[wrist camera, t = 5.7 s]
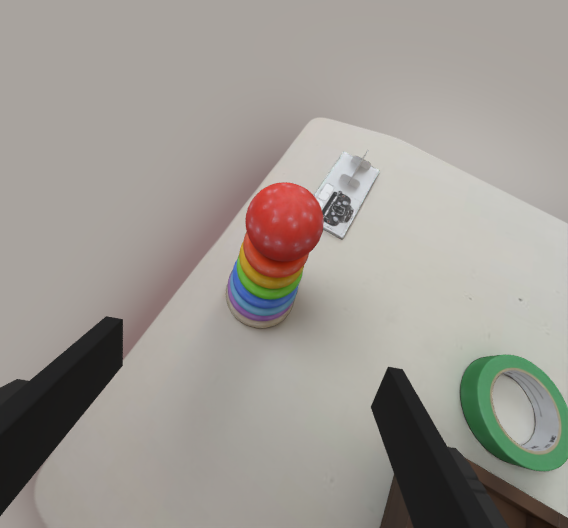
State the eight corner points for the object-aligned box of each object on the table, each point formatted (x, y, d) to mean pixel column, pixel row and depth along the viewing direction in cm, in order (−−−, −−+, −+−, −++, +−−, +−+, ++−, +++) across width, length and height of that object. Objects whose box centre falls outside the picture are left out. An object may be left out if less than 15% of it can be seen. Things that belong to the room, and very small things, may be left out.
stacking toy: (244, 341, 30) (250, 286, 13) (215, 280, 32) (189, 165, 15) (304, 310, 32) (376, 230, 15) (274, 256, 35) (307, 134, 18)
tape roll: (533, 362, 34) (556, 361, 32) (562, 469, 29) (590, 476, 27) (452, 351, 33) (469, 348, 31) (468, 459, 28) (489, 466, 26)
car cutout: (342, 153, 44) (353, 129, 40) (378, 172, 44) (393, 150, 39) (300, 216, 38) (307, 195, 34) (341, 239, 37) (354, 221, 33)
